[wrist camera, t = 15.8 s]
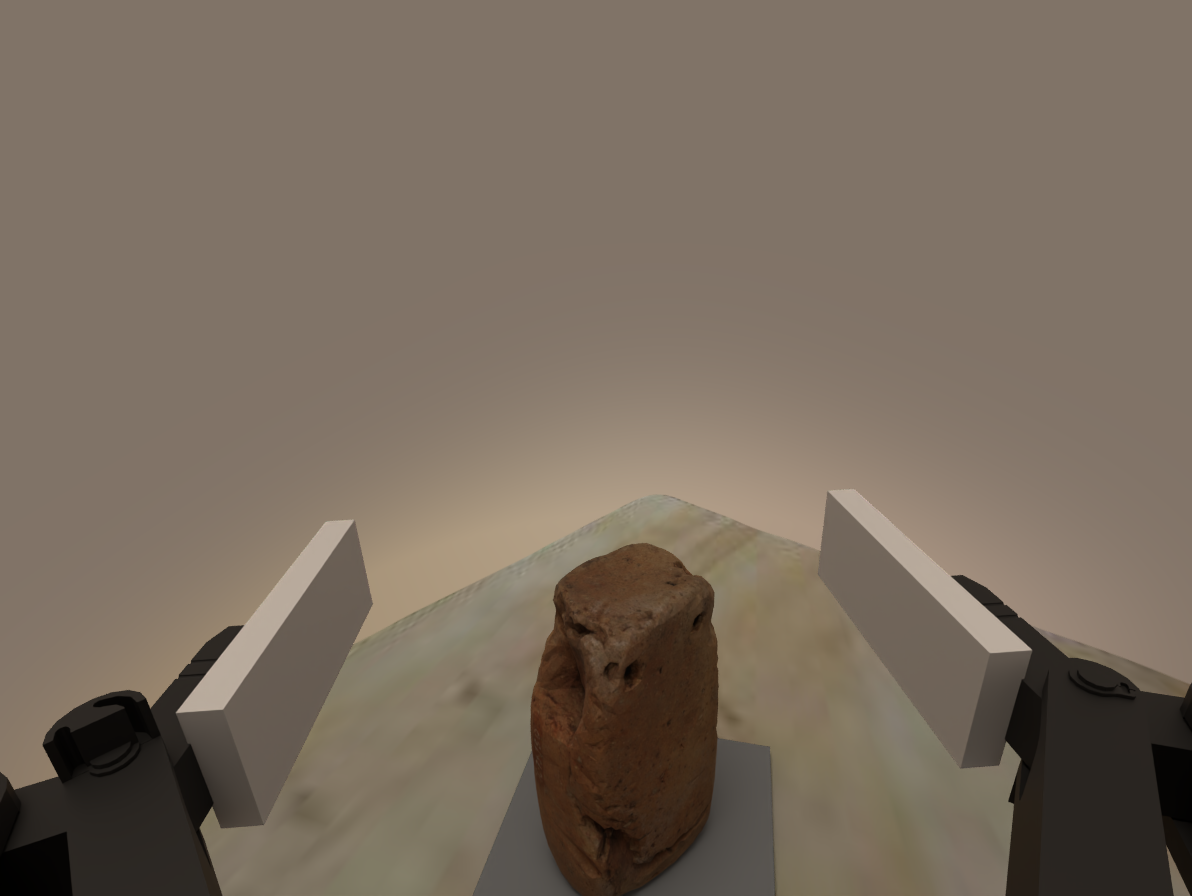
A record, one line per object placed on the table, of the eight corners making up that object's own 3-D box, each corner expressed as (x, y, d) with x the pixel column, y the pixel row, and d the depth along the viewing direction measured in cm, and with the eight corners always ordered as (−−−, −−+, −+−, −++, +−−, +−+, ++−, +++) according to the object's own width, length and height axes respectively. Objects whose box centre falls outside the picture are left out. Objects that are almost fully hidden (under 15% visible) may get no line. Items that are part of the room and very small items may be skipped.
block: (648, 754, 45) (645, 524, 37) (725, 826, 39) (739, 573, 32) (529, 846, 38) (498, 591, 31) (601, 946, 33) (583, 666, 26)
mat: (450, 962, 33) (448, 953, 33) (549, 717, 50) (548, 710, 49) (779, 1056, 29) (780, 1047, 29) (769, 754, 45) (769, 746, 45)
